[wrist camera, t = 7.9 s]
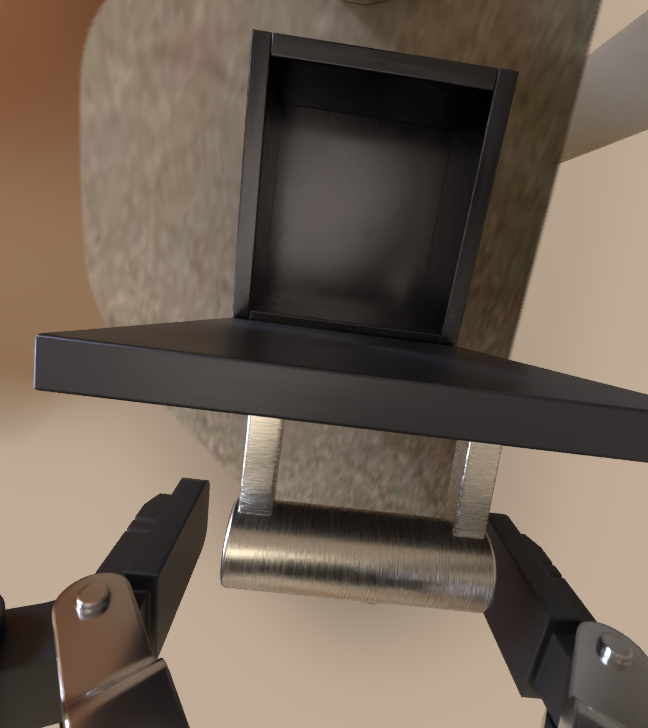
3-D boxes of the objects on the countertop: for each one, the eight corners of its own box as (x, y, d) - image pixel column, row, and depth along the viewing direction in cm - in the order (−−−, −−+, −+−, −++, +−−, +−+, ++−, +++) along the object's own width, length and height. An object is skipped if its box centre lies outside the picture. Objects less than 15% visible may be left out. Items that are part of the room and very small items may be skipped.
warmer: (270, 89, 21) (251, 28, 15) (466, 120, 21) (519, 71, 15) (252, 308, 24) (231, 324, 18) (424, 330, 24) (454, 353, 19)
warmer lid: (32, 333, 5) (22, 671, 6) (770, 425, 6) (682, 729, 6) (229, 317, 18) (218, 428, 18) (459, 347, 18) (441, 454, 19)
